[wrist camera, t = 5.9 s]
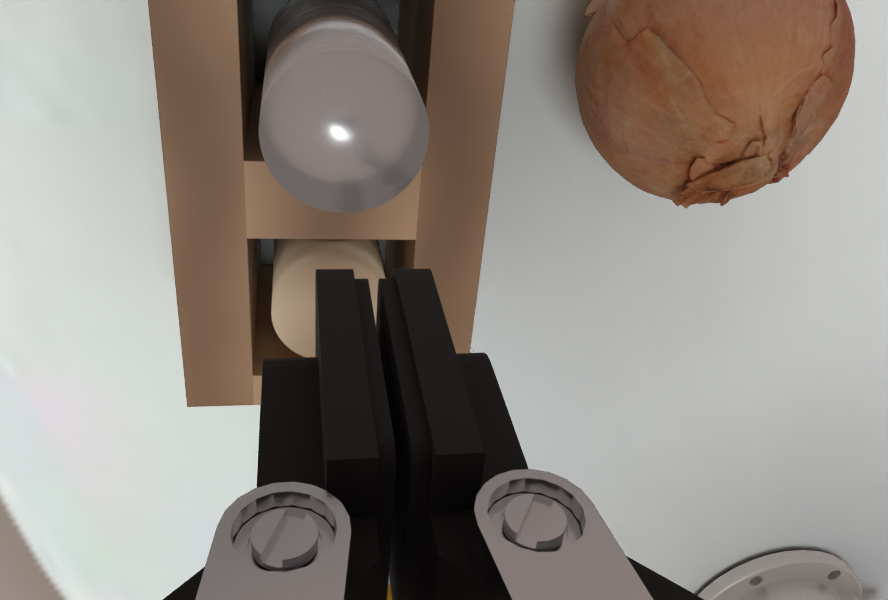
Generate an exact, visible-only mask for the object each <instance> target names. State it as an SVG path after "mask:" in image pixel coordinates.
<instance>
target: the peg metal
mask: <svg viewBox="0 0 888 600" xmlns="http://www.w3.org/2000/svg"><path fill="white" fill-rule="evenodd" d="M259 142H260V147H261V151H262V155H263V158H264V160H265V163H266V165H267V167H268V169H269V170H270V172H271V174H272V175H273V177H274V178H275V179H276V181H277V182H278V183H279V184H280V185H281V186H282V187H283V188H284V189H285V190H286V191H287V192H288V193H289V194H291V195H292V196H293V197H295V198H296V199H298V200H300V201H301V202H303V203H305V204H307V205H309V206H312V207H314V208H318V209H321V210H325V211H330V212H339V213H351V212H359V211H365V210H368V209H372V208H375V207H377V206H380V205H382V204H384V203H386V202H388V201H389V200H391V199H393V198H394V197H396V196H397V195H398V194H400V193H401V192H402V191H403V190H404V189H405V188H406V187H407V186H408V185H409V184H410V183H411V181H412V180H413V179H414V178H415V176H416V175H417V173H418V171H419V170H420V168H421V166H422V163H423V161H424V159H425V156H426V152H427V149H428V142H429V122H428V116H427V112H426V108H425V105H424V103H423V100H422V98H421V96H420V93H419V91H418V89H417V86H416V84H415V82H414V79H413V77H412V75H411V72H410V70H409V68H408V65H407V63H406V61H405V58H404V56H403V54H402V51H401V49H400V47H399V44H398V42H397V40H396V38H395V35H394V33H393V31H392V28H391V26H390V24H389V22H388V20H387V18H386V16H385V15H384V14H383V12H382V11H381V10H380V8H379V7H378V6H377V5H376V4H375V3H374V2H373V1H371V0H289V1H288V2H287V3H286V4H285V5H284V6H283V7H282V8H281V10H280V11H279V13H278V14H277V16H276V17H275V19H274V22H273V24H272V26H271V29H270V33H269V38H268V46H267V55H266V64H265V73H264V82H263V91H262V100H261V109H260V118H259Z"/></svg>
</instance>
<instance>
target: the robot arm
mask: <svg viewBox="0 0 888 600" xmlns="http://www.w3.org/2000/svg"><path fill="white" fill-rule="evenodd" d="M388 579H390V587H391V595H392V600H862V593H863V592H862V588H861V584H860V582H859V580H858V579H857V577H856V576H855V574H854V573H853V571H852V570H851V568H850V567H849V566H848V565H847V564H846V563H845V562H844V561H843V560H841V559H839V558H837V557H836V556H834V555H831V554H828V553H824V552H821V551H812V550H792V551H783V552H778V553H773V554H768V555H765V556H762V557H759V558H756V559H753V560H750V561H748V562H746V563H744V564H742V565H739V566H737V567H735V568H733V569H731V570H730V571H728V572H726V573H725V574H723V575H721V576H720V577H718V578H717V579H716V580H714V581H713V582H712V583H710V584H709V585H708V586H707V587H705V588H704V589H703V590H702V591H701V592H700V593H699V594H698V595H695V594H693V593H691V592H690V591H688V590H686V589H684V588H682V587H681V586H679V585H677V584H675V583H673V582H672V581H670V580H668V579H666V578H665V577H663V576H661V575H659V574H657V573H656V572H654V571H652V570H650V569H648V568H647V567H645V566H643V565H641V564H639V563H638V562H636V561H634V560H632V559H631V558H629V557H627V556H626V555H625V554H624V552H623V550H622V549H621V547H620V546H619V544H618V542H617V541H616V539H615V538H614V536H613V535H612V533H611V531H610V530H609V528H608V527H607V525H606V523H605V522H604V520H603V519H602V517H601V515H600V514H599V512H598V511H597V509H596V508H595V506H594V504H593V503H592V502H591V500H590V499H589V498H588V497H587V496H586V495H585V493H584V492H583V491H582V490H581V489H580V488H578V487H577V486H575V485H574V484H572V483H571V482H570V481H568V480H567V479H564V478H562V477H559V476H557V475H555V474H552V473H550V472H544V471H539V470H533V469H528V466H527V463H526V461H525V458H524V455H523V452H522V449H521V447H520V444H519V441H518V438H517V435H516V432H515V430H514V427H513V424H512V421H511V418H510V416H509V413H508V410H507V407H506V404H505V401H504V399H503V396H502V393H501V390H500V387H499V385H498V382H497V379H496V376H495V373H494V370H493V368H492V365H491V362H490V360H489V358H488V356H487V354H485V353H458V354H456V351H455V348H454V344H453V341H452V338H451V334H450V331H449V328H448V324H447V321H446V318H445V314H444V311H443V308H442V304H441V301H440V298H439V294H438V291H437V288H436V284H435V281H434V277H433V274H432V271H431V269H393V271H392V277H391V278H380V279H379V281H378V294H377V315H376V324H375V318H374V312H373V305H372V299H371V293H370V287H369V281H368V279H355V277H354V271H353V269H316V276H315V357H305V358H266V359H263V367H262V388H261V409H260V430H259V451H258V473H257V488H255V489H253V490H251V491H250V492H248V493H246V494H244V495H242V496H241V497H239V498H238V499H237V500H236V501H235V502H233V503H232V504H231V505H230V506H229V507H228V508H227V509H226V510H225V512H224V514H223V516H222V518H221V520H220V522H219V524H218V525H217V528H216V532H215V535H214V538H213V542H212V545H211V548H210V552H209V555H208V559H207V562H206V565H205V567H204V568H203V569H201V570H200V571H199V572H198V573H196V574H195V575H194V576H193V577H191V578H190V579H189V580H187V581H186V582H185V583H184V584H182V585H181V586H180V587H178V588H177V589H176V590H175V591H173V592H172V593H171V594H169V595H168V596H167V597H166V598H164V599H163V600H387V592H388Z"/></svg>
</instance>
